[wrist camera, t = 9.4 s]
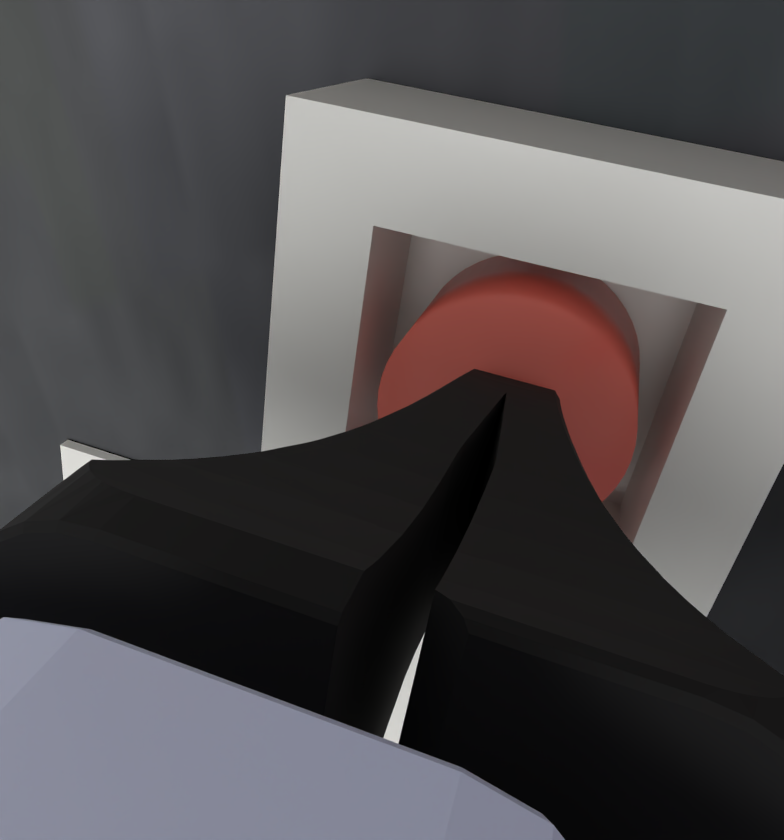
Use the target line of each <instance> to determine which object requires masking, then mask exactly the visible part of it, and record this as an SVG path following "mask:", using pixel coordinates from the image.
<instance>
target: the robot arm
mask: <svg viewBox="0 0 784 840" xmlns="http://www.w3.org/2000/svg"><path fill="white" fill-rule="evenodd" d="M424 633H425V634H424ZM423 635H424V638H423V643H422V647H421V651H420V655H419V659H418V664H417V668H416V672H415V676H414V680H413V685H412V689H411V693H410V697H409V701H408V705H407V710H406V714H405V718H404V722H403V726H402V731H401V735H400V739H399V743H395V742H392V741H390V740H387V739H384V738H383V737H384V734H385V732H386V729H387V726H388V723H389V720H390V718H391V715H392V712H393V709H394V706H395V703H396V701H397V698H398V695H399V692H400V689H401V687H402V684H403V681H404V678H405V676H406V673H407V671H408V668H409V666H410V664H411V661H412V659H413V657H414V654H415V652H416V650H417V648H418V646H419V644H420V641H421V639H422V637H423ZM0 840H784V676H783V675H781V674H780V673H779V672H777V671H776V670H775V669H773V668H772V667H770V666H769V665H768V664H766V663H765V662H764V661H762V660H761V659H760V658H758V657H757V656H755V655H754V654H753V653H751V652H750V651H749V650H747V649H746V648H744V647H743V646H742V645H740V644H739V643H738V642H736V641H735V640H733V639H732V638H731V637H729V636H728V635H727V634H726V633H724V632H723V631H722V630H721V629H719V628H718V627H717V626H716V625H715V624H714V623H713V622H711V621H710V620H709V619H708V618H707V617H706V616H704V615H703V614H702V613H701V612H700V611H699V610H697V609H696V608H695V607H694V606H693V605H692V604H691V603H689V602H688V601H687V600H686V599H685V598H684V597H683V596H682V595H681V594H680V593H679V592H678V591H677V590H676V589H674V588H673V587H672V586H671V585H670V584H669V583H668V582H667V581H666V580H665V579H664V578H663V577H662V576H661V575H660V573H659V572H658V571H657V570H656V569H655V568H654V567H653V566H652V565H651V564H650V563H649V562H648V561H647V559H646V558H645V557H644V556H643V555H642V554H641V553H640V552H639V551H638V550H637V548H636V547H635V546H634V545H633V544H632V542H631V541H630V540H629V539H628V538H627V536H626V535H625V534H624V533H623V531H622V530H621V528H620V527H619V526H618V524H617V523H616V522H615V520H614V519H613V517H612V516H611V515H610V513H609V512H608V511H607V509H606V508H605V506H604V505H603V503H602V502H601V500H600V498H599V497H598V495H597V493H596V491H595V489H594V487H593V486H592V484H591V482H590V480H589V478H588V476H587V474H586V472H585V470H584V468H583V466H582V464H581V461H580V459H579V457H578V455H577V452H576V450H575V448H574V445H573V443H572V440H571V438H570V435H569V432H568V429H567V426H566V423H565V420H564V417H563V413H562V409H561V404H560V399H559V397H558V395H557V393H556V391H555V390H552V389H548V388H544V387H541V386H537V385H533V384H530V383H526V382H522V381H518V380H515V379H511V378H507V377H504V376H500V375H496V374H492V373H489V372H485V371H481V370H478V369H473V370H471V371H469V372H467V373H465V374H463V375H462V376H460V377H458V378H456V379H455V380H453V381H451V382H450V383H448V384H446V385H445V386H443V387H441V388H440V389H438V390H436V391H434V392H433V393H431V394H429V395H427V396H425V397H424V398H422V399H420V400H418V401H416V402H414V403H412V404H411V405H409V406H407V407H405V408H402V409H400V410H398V411H396V412H393V413H391V414H389V415H387V416H385V417H382V418H380V419H378V420H376V421H373V422H371V423H368V424H366V425H363V426H360V427H358V428H355V429H352V430H349V431H346V432H343V433H339V434H336V435H333V436H329V437H326V438H323V439H319V440H315V441H311V442H307V443H302V444H297V445H292V446H287V447H282V448H277V449H272V450H267V451H262V452H255V453H248V454H240V455H232V456H223V457H210V458H198V459H181V460H93V459H92V460H90V461H89V462H87V463H86V464H85V465H83V466H82V467H80V468H79V469H78V470H76V471H75V472H74V473H72V474H71V475H70V476H69V477H67V478H66V479H65V480H63V481H62V482H61V483H60V484H58V485H57V486H56V487H54V488H53V489H52V490H51V491H49V492H48V493H47V494H45V495H44V496H43V497H41V498H40V499H39V500H38V501H36V502H35V503H34V504H32V505H31V506H30V507H29V508H27V509H26V510H25V511H23V512H22V513H21V514H20V515H18V516H17V517H16V518H14V519H13V520H12V521H11V522H9V523H8V524H7V525H5V526H4V527H3V528H2V529H0Z"/></svg>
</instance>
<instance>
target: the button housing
mask: <svg viewBox="0 0 784 840" xmlns="http://www.w3.org/2000/svg"><path fill="white" fill-rule="evenodd" d="M495 256H503V257H508V258H512V259H516V260H520V261H525V262H529V263H533V264H537V265H541V266H546V267H550V268H554V269H558V270H562V271H567V272H571V273H575V274H579V275H583V276H588V277H592V278H596V279H600V280H601V281H603V282H604V283H605V284H606V285H607V286H608V287H609V288H610V289H611V290H612V291H613V292H614V293H615V294H616V296H617V297H618V298H619V300H620V301H621V302H622V304H623V305H624V307H625V308H626V310H627V312H628V314H629V316H630V318H631V320H632V322H633V325H634V328H635V331H636V334H637V339H638V344H639V353H640V372H639V401H638V430H637V438H636V446H635V449H634V453H633V456H632V460H631V462H630V464H629V467H628V469H627V471H626V473H625V475H624V476H623V478H622V479H621V481H620V482H619V484H618V485H617V487H616V488H615V489H614V490H613V491H612V493H611V494H610V495H609V496H608V497H607V498H606V499H605V500H604V501H603V502H602V503H603V505H604V506H605V508H606V509H607V511H608V512H609V513H610V515H611V516H612V517H613V519H614V520H615V522H616V523H617V524H618V526H619V527H620V528H621V530H622V531H623V533H624V534H625V535H626V536H627V538H628V539H629V540H630V541H631V542H632V544H633V545H634V546H635V547H636V548H637V550H638V551H639V552H640V553H641V554H642V555H643V556H644V557H645V558H646V559H647V561H648V562H649V563H650V564H651V565H652V566H653V567H654V568H655V569H656V570H657V571H658V572H659V573H660V575H661V576H662V577H663V578H664V579H665V580H666V581H667V582H668V583H669V584H670V585H671V586H672V587H673V588H674V589H676V590H677V591H678V592H679V593H680V594H681V595H682V596H683V597H684V598H685V599H686V600H687V601H688V602H689V603H691V604H692V605H693V606H694V607H695V608H696V609H697V610H699V611H700V612H701V613H702V614H703V615H704V616H706V617H707V615H708V613H709V611H710V609H711V607H712V605H713V603H714V601H715V599H716V597H717V595H718V593H719V591H720V589H721V587H722V585H723V583H724V581H725V579H726V578H727V576H728V574H729V572H730V570H731V568H732V566H733V564H734V562H735V560H736V558H737V556H738V554H739V552H740V550H741V548H742V546H743V544H744V542H745V540H746V538H747V536H748V534H749V532H750V530H751V528H752V526H753V524H754V522H755V520H756V518H757V516H758V514H759V512H760V510H761V508H762V506H763V504H764V502H765V500H766V498H767V496H768V494H769V492H770V490H771V488H772V486H773V484H774V482H775V480H776V478H777V476H778V474H779V472H780V470H781V468H782V466H783V464H784V161H779V160H774V159H769V158H764V157H759V156H754V155H749V154H744V153H739V152H734V151H729V150H724V149H719V148H714V147H709V146H704V145H699V144H694V143H689V142H684V141H679V140H674V139H669V138H664V137H659V136H653V135H648V134H643V133H638V132H633V131H628V130H623V129H618V128H613V127H608V126H603V125H598V124H593V123H588V122H583V121H578V120H573V119H568V118H563V117H558V116H553V115H548V114H543V113H538V112H533V111H528V110H523V109H518V108H513V107H508V106H503V105H498V104H493V103H488V102H483V101H478V100H473V99H468V98H463V97H458V96H453V95H448V94H443V93H438V92H433V91H428V90H423V89H418V88H413V87H408V86H403V85H398V84H393V83H388V82H383V81H378V80H373V79H368V78H366V79H361V80H356V81H351V82H347V83H342V84H337V85H332V86H327V87H323V88H318V89H313V90H308V91H303V92H299V93H294V94H289V95H286V102H285V117H284V131H283V146H282V160H281V175H280V189H279V203H278V218H277V232H276V247H275V261H274V276H273V290H272V304H271V319H270V333H269V348H268V362H267V377H266V391H265V405H264V420H263V434H262V449H261V452H262V451H267V450H272V449H277V448H282V447H287V446H292V445H297V444H302V443H307V442H311V441H315V440H319V439H323V438H326V437H329V436H333V435H336V434H339V433H343V432H346V431H349V430H352V429H355V428H358V427H360V426H363V425H366V424H368V423H371V422H373V421H376V420H378V409H377V401H378V389H379V385H380V381H381V377H382V374H383V371H384V369H385V366H386V363H387V361H388V360H389V358H390V356H391V354H392V353H393V351H394V349H395V348H396V347H397V345H398V344H399V343H400V341H401V340H402V339H403V338H404V336H405V335H406V334H407V332H408V331H409V330H410V329H411V327H412V326H413V325H414V323H415V322H416V321H417V320H418V318H419V317H420V316H421V314H422V313H423V312H424V311H425V309H426V308H427V307H428V305H429V304H430V303H431V302H432V300H433V299H434V298H435V296H436V295H437V294H438V293H439V291H440V290H441V289H442V288H443V287H444V286H445V285H446V284H447V283H448V282H449V281H450V280H451V279H452V278H453V277H454V276H456V275H457V274H459V273H460V272H461V271H463V270H464V269H466V268H468V267H470V266H472V265H473V264H475V263H477V262H480V261H483V260H485V259H488V258H491V257H495Z"/></svg>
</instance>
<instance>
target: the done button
mask: <svg viewBox="0 0 784 840" xmlns="http://www.w3.org/2000/svg"><path fill="white" fill-rule="evenodd" d="M473 369H478V370H481V371H485V372H489V373H492V374H496V375H500V376H504V377H507V378H511V379H515V380H518V381H522V382H526V383H530V384H533V385H537V386H541V387H544V388H548V389H552V390H555V391H556V393H557V395H558V397H559V399H560V404H561V409H562V413H563V417H564V420H565V423H566V426H567V429H568V432H569V435H570V438H571V440H572V443H573V445H574V448H575V450H576V452H577V455H578V457H579V459H580V461H581V464H582V466H583V468H584V470H585V472H586V474H587V476H588V478H589V480H590V482H591V484H592V486H593V487H594V489H595V491H596V493H597V495H598V497H599V498H600V500H601V502H603V501H604V500H605V499H606V498H607V497H608V496H609V495H610V494H611V493H612V491H613V490H614V489H615V488H616V487H617V485H618V484H619V482H620V481H621V479H622V478H623V476H624V475H625V473H626V471H627V469H628V467H629V464H630V462H631V460H632V456H633V453H634V449H635V446H636V438H637V430H638V401H639V372H640V353H639V344H638V339H637V334H636V331H635V328H634V325H633V322H632V320H631V318H630V316H629V314H628V312H627V310H626V308H625V307H624V305H623V304H622V302H621V301H620V300H619V298H618V297H617V296H616V294H615V293H614V292H613V291H612V290H611V289H610V288H609V287H608V286H607V285H606V284H605V283H604V282H603V281H601V280H600V279H596V278H592V277H588V276H583V275H579V274H575V273H571V272H567V271H562V270H558V269H554V268H550V267H546V266H541V265H537V264H533V263H529V262H525V261H520V260H516V259H512V258H508V257H503V256H495V257H491V258H488V259H485V260H483V261H480V262H477V263H475V264H473V265H472V266H470V267H468V268H466V269H464V270H463V271H461V272H460V273H459V274H457V275H456V276H454V277H453V278H452V279H451V280H450V281H449V282H448V283H447V284H446V285H445V286H444V287H443V288H442V289H441V290H440V291H439V293H438V294H437V295H436V296H435V298H434V299H433V300H432V302H431V303H430V304H429V305H428V307H427V308H426V309H425V311H424V312H423V313H422V314H421V316H420V317H419V318H418V320H417V321H416V322H415V323H414V325H413V326H412V327H411V329H410V330H409V331H408V332H407V334H406V335H405V336H404V338H403V339H402V340H401V341H400V343H399V344H398V345H397V347H396V348H395V349H394V351H393V353H392V354H391V356H390V358H389V360H388V361H387V363H386V366H385V369H384V371H383V374H382V377H381V381H380V385H379V389H378V401H377V409H378V419H380V418H382V417H385V416H387V415H389V414H391V413H393V412H396V411H398V410H400V409H402V408H405V407H407V406H409V405H411V404H412V403H414V402H416V401H418V400H420V399H422V398H424V397H425V396H427V395H429V394H431V393H433V392H434V391H436V390H438V389H440V388H441V387H443V386H445V385H446V384H448V383H450V382H451V381H453V380H455V379H456V378H458V377H460V376H462V375H463V374H465V373H467V372H469V371H471V370H473Z"/></svg>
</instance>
